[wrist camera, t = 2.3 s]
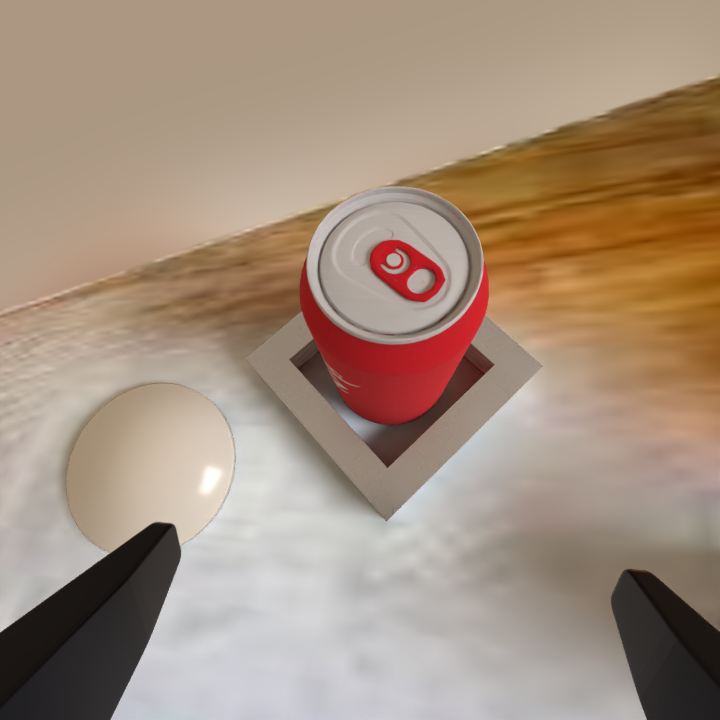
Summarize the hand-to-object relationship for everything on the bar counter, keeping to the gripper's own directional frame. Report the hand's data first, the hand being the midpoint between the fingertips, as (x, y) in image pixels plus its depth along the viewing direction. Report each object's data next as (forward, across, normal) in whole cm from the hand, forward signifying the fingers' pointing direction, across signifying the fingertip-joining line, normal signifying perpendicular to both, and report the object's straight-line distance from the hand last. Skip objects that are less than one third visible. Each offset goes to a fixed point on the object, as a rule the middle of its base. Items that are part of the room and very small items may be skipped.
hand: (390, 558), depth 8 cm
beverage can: (+15, 0, +4) cm, 16 cm away
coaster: (+11, +13, +8) cm, 19 cm away
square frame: (+15, 0, +4) cm, 15 cm away
